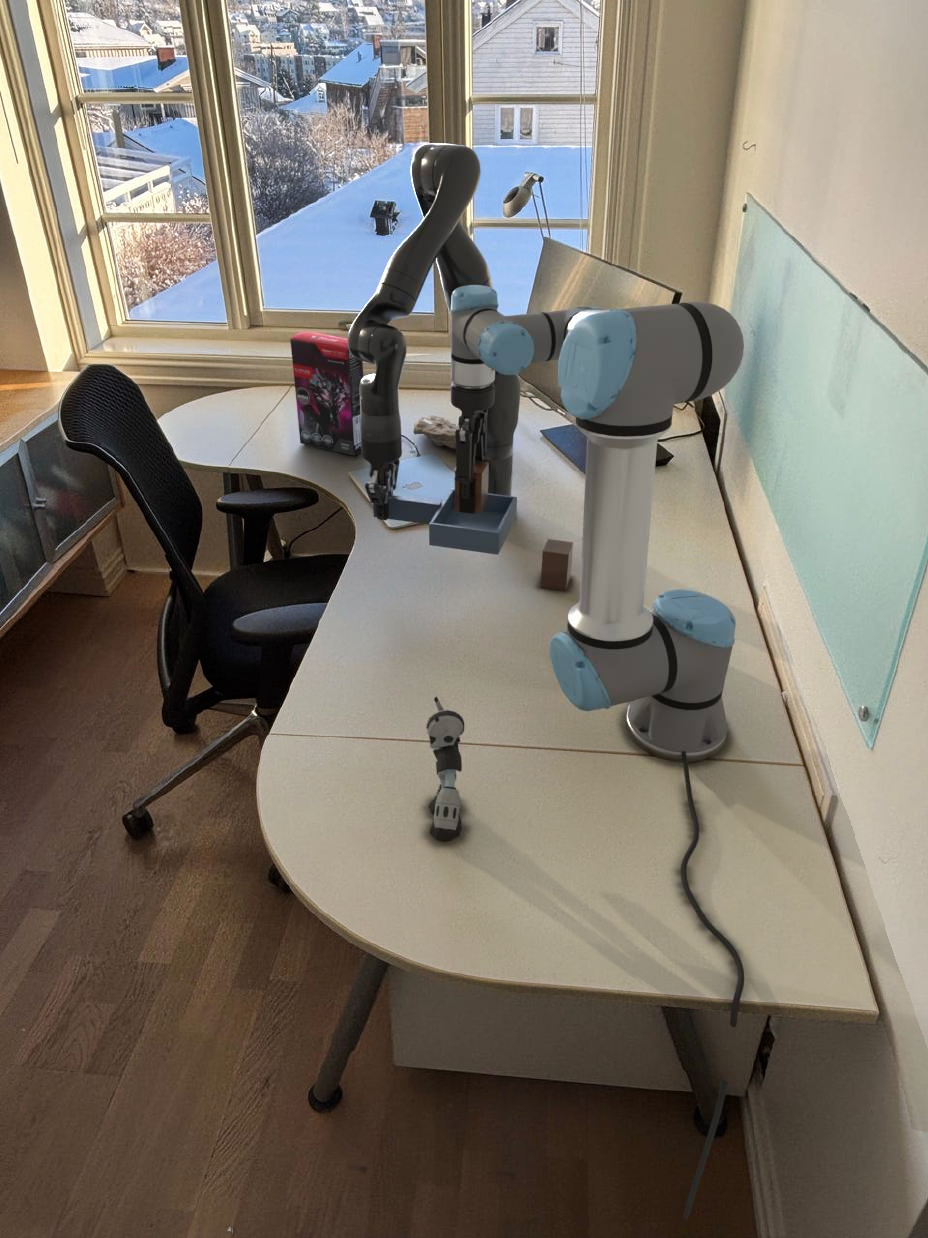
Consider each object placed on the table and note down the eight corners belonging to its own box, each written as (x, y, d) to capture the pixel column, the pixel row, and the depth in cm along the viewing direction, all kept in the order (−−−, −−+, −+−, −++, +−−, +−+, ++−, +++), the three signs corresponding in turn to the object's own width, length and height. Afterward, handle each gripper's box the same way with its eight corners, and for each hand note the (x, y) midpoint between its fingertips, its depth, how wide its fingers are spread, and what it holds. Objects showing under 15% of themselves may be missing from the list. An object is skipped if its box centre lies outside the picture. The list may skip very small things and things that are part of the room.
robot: (467, 874, 119) (468, 759, 108) (429, 876, 119) (427, 760, 108) (460, 769, 135) (460, 659, 124) (426, 770, 135) (424, 660, 124)
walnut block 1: (481, 514, 167) (481, 473, 162) (454, 510, 168) (454, 470, 164) (487, 502, 171) (488, 462, 166) (461, 498, 172) (462, 458, 168)
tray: (498, 554, 168) (499, 530, 165) (361, 535, 174) (359, 511, 171) (516, 517, 180) (517, 494, 178) (387, 500, 186) (386, 478, 183)
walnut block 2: (565, 590, 177) (568, 554, 172) (540, 587, 178) (542, 551, 173) (570, 577, 181) (573, 542, 176) (545, 574, 182) (547, 538, 177)
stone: (397, 439, 228) (402, 416, 226) (416, 430, 242) (421, 408, 239) (477, 464, 225) (483, 440, 222) (491, 454, 238) (497, 431, 236)
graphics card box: (297, 444, 233) (287, 336, 218) (313, 435, 239) (304, 329, 223) (354, 457, 227) (347, 347, 212) (369, 447, 232) (364, 339, 217)
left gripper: (387, 449, 163) (391, 535, 173) (411, 421, 174) (413, 503, 184) (348, 444, 165) (353, 530, 175) (374, 417, 176) (378, 499, 186)
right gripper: (481, 402, 148) (478, 530, 161) (506, 367, 163) (502, 486, 176) (436, 397, 150) (437, 524, 163) (465, 362, 164) (464, 481, 177)
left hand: (384, 516), depth 179 cm, fingers closed on tray, 1 cm apart
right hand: (471, 504), depth 169 cm, fingers closed on walnut block 1, 5 cm apart
